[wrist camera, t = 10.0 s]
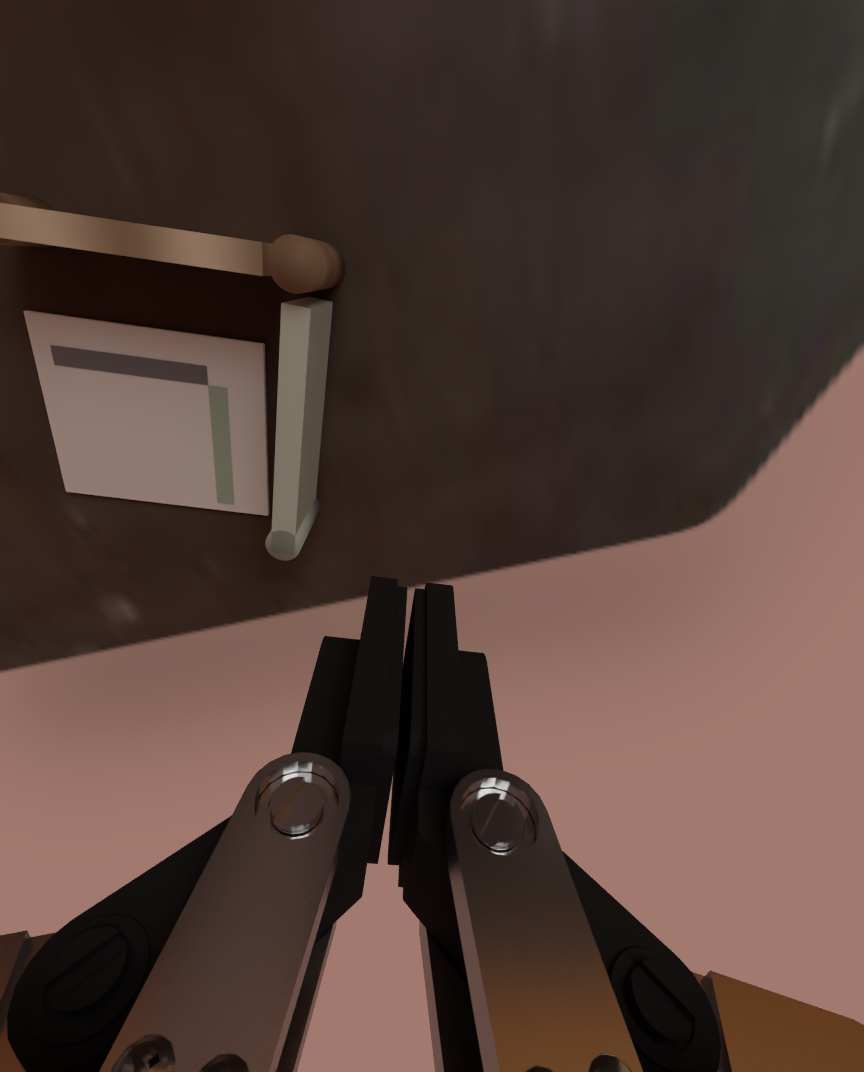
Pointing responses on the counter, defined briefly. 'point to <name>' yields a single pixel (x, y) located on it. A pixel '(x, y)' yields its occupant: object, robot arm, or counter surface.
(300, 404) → the cream flat slab
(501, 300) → the counter surface
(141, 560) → the counter surface
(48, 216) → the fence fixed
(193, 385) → the card
